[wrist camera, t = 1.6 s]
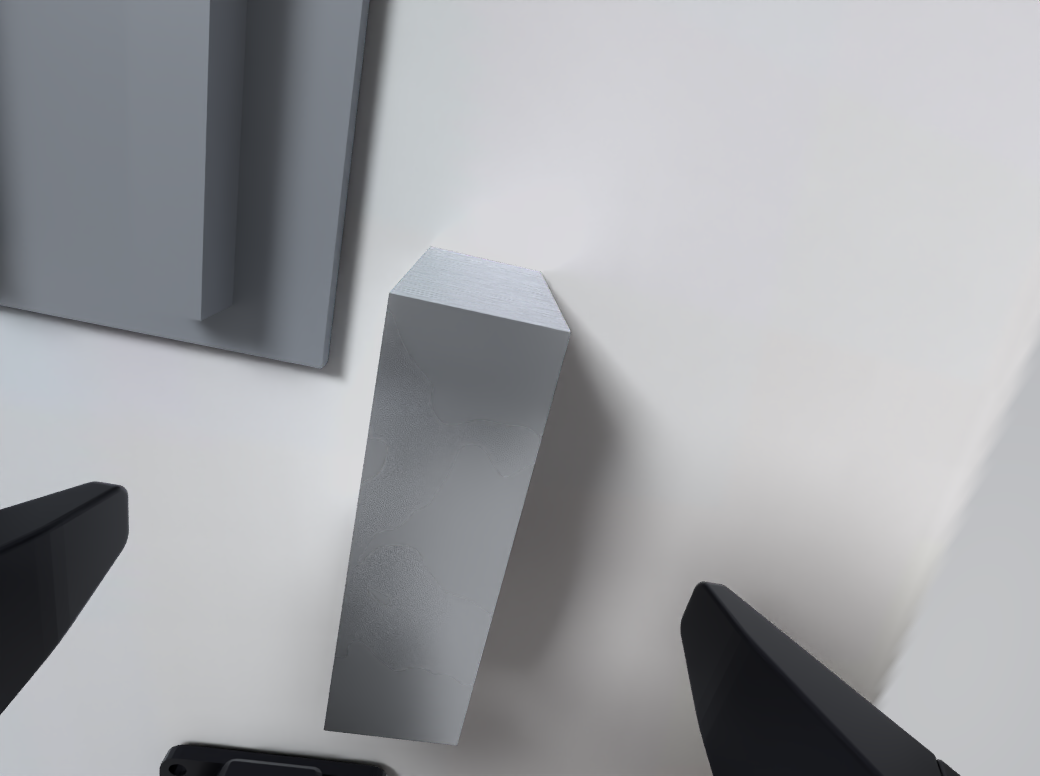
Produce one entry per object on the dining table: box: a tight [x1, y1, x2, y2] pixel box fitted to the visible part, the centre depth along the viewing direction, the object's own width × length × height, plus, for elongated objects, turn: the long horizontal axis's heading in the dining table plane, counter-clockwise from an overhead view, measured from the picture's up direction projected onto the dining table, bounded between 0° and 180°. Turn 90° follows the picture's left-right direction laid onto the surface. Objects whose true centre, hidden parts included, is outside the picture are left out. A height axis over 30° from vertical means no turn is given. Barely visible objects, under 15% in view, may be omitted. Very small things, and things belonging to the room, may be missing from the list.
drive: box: [324, 246, 571, 746], centre depth 11 cm, size 8×2×5 cm, turn 167°
